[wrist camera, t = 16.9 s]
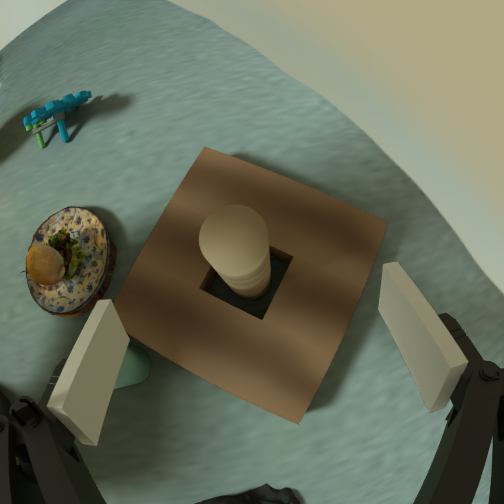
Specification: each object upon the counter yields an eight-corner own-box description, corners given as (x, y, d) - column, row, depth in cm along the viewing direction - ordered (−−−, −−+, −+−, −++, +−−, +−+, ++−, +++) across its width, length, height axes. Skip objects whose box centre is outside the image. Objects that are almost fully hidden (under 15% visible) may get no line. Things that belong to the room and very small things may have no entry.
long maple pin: (260, 307, 27) (248, 282, 16) (223, 289, 28) (186, 252, 16) (278, 270, 28) (279, 220, 16) (241, 253, 29) (219, 194, 17)
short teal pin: (140, 390, 26) (103, 401, 19) (110, 370, 26) (68, 374, 20) (156, 358, 27) (121, 361, 20) (125, 338, 27) (85, 335, 21)
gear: (102, 84, 35) (59, 89, 26) (112, 122, 38) (72, 136, 29) (47, 112, 37) (3, 125, 28) (57, 146, 40) (15, 165, 31)
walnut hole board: (296, 416, 24) (298, 424, 21) (121, 321, 28) (106, 318, 25) (378, 234, 28) (388, 222, 25) (210, 162, 32) (204, 146, 29)
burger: (137, 237, 30) (101, 208, 23) (84, 339, 28) (37, 335, 21) (65, 197, 32) (28, 168, 25) (20, 283, 30) (-23, 268, 23)
